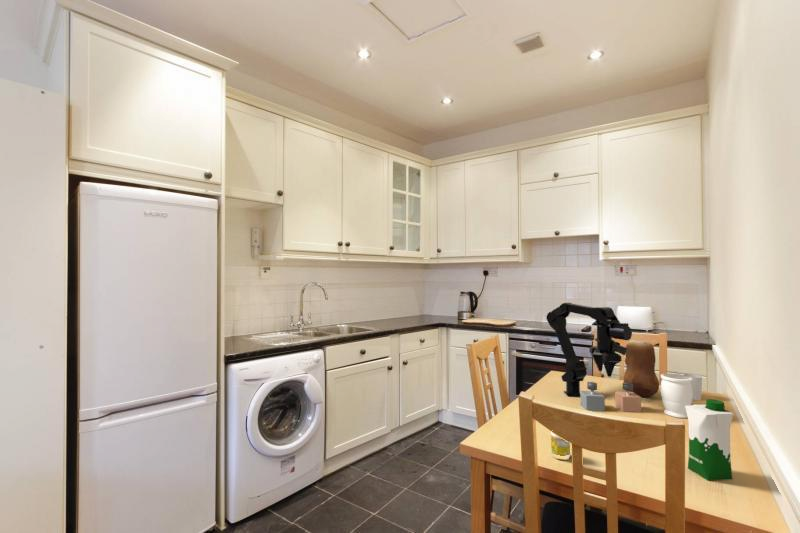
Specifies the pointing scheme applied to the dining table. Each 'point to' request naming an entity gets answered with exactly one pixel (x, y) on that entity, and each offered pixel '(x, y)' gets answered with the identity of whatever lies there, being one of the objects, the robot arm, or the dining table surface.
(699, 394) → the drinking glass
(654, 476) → the dining table surface
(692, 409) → the milk carton
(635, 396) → the pink block with hole
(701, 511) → the dining table surface
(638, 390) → the butternut squash
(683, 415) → the jar
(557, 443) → the supplement bottle
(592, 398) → the slate bottle
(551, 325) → the robot arm
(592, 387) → the slate pump
